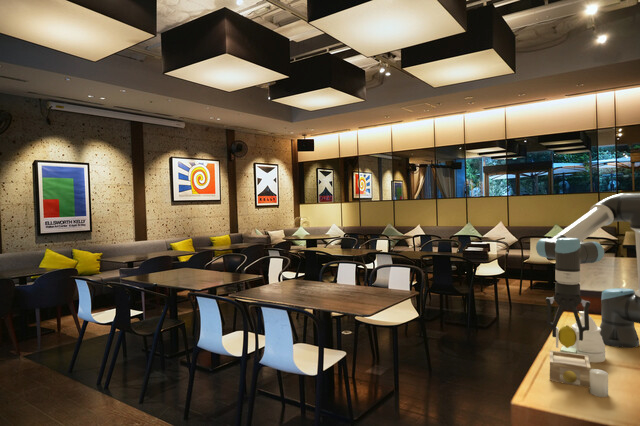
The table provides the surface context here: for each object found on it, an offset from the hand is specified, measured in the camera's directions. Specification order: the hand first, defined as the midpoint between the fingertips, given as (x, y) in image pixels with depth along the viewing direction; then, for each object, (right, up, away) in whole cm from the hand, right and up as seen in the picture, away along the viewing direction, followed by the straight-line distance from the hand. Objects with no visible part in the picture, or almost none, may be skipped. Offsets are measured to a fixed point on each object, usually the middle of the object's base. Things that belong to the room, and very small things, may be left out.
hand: (567, 347), depth 149 cm
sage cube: (+9, -10, +15) cm, 20 cm away
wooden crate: (+1, -11, +1) cm, 11 cm away
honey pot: (+19, -10, +20) cm, 29 cm away
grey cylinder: (+4, -11, -11) cm, 17 cm away
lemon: (0, 0, 0) cm, 1 cm away
